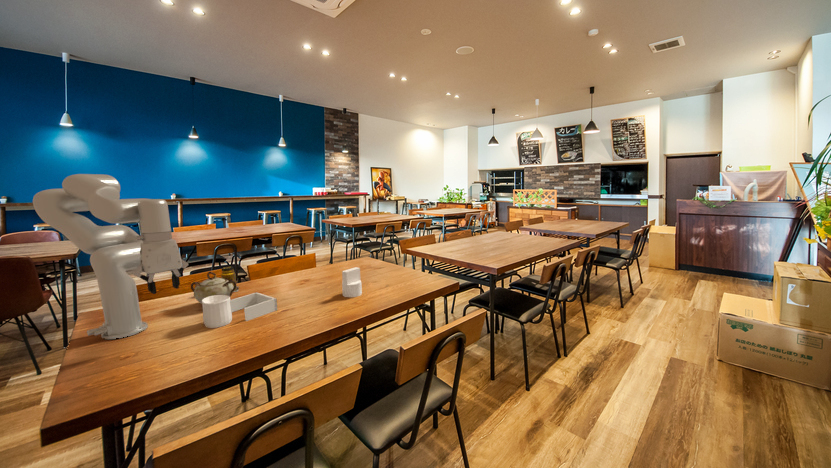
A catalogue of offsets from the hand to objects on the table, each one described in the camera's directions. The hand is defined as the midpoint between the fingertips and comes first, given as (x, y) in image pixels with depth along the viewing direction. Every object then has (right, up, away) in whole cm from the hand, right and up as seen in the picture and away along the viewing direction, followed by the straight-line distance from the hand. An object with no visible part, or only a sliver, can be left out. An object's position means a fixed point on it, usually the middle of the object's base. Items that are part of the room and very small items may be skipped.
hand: (164, 289), depth 108 cm
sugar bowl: (-4, -13, +35) cm, 37 cm away
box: (+16, -13, +26) cm, 33 cm away
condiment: (-9, -10, +54) cm, 55 cm away
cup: (+9, -16, +15) cm, 23 cm away
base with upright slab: (+54, -10, +45) cm, 71 cm away
